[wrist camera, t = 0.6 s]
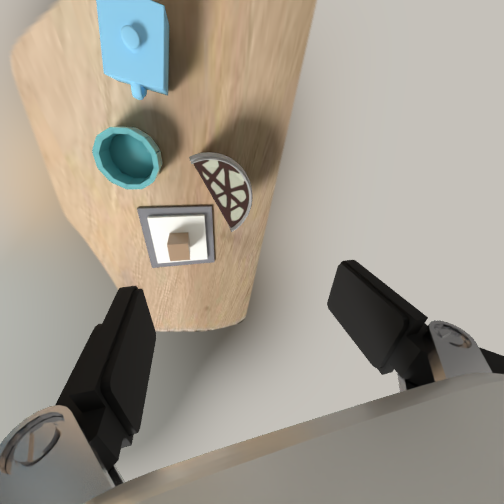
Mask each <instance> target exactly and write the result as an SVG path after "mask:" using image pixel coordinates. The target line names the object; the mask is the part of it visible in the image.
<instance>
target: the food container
mask: <svg viewBox="0 0 504 504" xmlns="http://www.w3.org/2000/svg"><path fill="white" fill-rule="evenodd" d="M189 158H190V161H191V164H194V166H195V168H196V169H197V171H198V172H199V174H200V176H201V178H202V179H203V181H204V183H205V185H206V186H207V188H208V190H209V191H210V193H211V195H212V197H213V199H214V200H215V202H216V204H217V205H218V207H219V209H220V211H221V212H222V214H223V216H224V218H225V219H226V221H227V223H228V225H229V227H230V230H231V232H232V231H234V230H236V229H237V228H238V227H239V226H240V225H241V224H242V223H243V222H244V221H245V219H246V217H247V216H248V214H249V212H250V209H251V205H252V188H251V183H250V180H249V178H248V176H247V174H246V172H245V171H244V169H243V168H242V167H241V166H240V165H239V164H238V163H237V162H236V161H234V160H233V159H231V158H230V157H227V156H225V155H223V154H219V153H213V152H205V153H199V154H195V155H193V156H190V157H189Z"/></svg>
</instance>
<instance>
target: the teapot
mask: <svg viewBox="0 0 504 504" xmlns="http://www.w3.org/2000/svg"><path fill="white" fill-rule="evenodd" d="M96 2H97V12H98V22H99V32H100V41H101V50H102V60H103V69H104V74H106V75H108V76H110V77H112V78H113V79H115V80H117V81H120V82H123V83H127V84H130V85H131V90H132V95H133V97H134V98H136V99H138V100H142V99H143V98H144V97H145V96H146V94H147V89H148V90H151V91H154V92H158V93H161V94H165V95H168V76H169V22H168V18H167V14H166V10H165V6H164V5H162V4H159V3H157V2H155V1H152V0H96Z"/></svg>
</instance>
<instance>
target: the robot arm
mask: <svg viewBox="0 0 504 504" xmlns="http://www.w3.org/2000/svg"><path fill="white" fill-rule="evenodd" d="M327 305H328V308H329V310H330V311H331V312H332V313H333V315H334V316H335V318H336V319H337V320H338V322H339V323H340V324H341V325H342V327H343V328H344V329H345V331H346V332H347V333H348V334H349V336H350V337H351V338H352V340H353V341H354V342H355V344H356V345H357V346H358V347H359V349H360V350H361V351H362V352H363V354H364V355H365V356H366V358H367V359H368V360H369V361H370V363H371V364H372V365H373V366H374V367H375V368H377V369H378V370H379V371H380V373H381V374H382V375H383V374H387V373H390V372H392V371H393V370H394V369H395V370H396V372H397V373H398V380H399V388H400V393H396V394H393V395H390V396H386V397H383V398H380V399H377V400H373V401H370V402H367V403H364V404H360V405H357V406H354V407H351V408H348V409H344V410H341V411H338V412H335V413H332V414H328V415H325V416H322V417H319V418H315V419H312V420H309V421H306V422H303V423H299V424H296V425H293V426H290V427H287V428H284V429H281V430H277V431H274V432H271V433H268V434H265V435H262V436H258V437H256V438H252V439H249V440H246V441H243V442H240V443H237V444H233V445H230V446H227V447H224V448H221V449H218V450H215V451H211V452H209V453H205V454H203V455H200V456H197V457H194V458H191V459H188V460H185V461H182V462H179V463H176V464H173V465H170V466H167V467H164V468H161V469H158V470H155V471H153V472H151V473H148V474H145V475H143V476H140V477H138V478H135V479H133V480H130V481H128V482H124V480H123V478H122V476H121V474H120V473H119V471H118V469H117V467H116V466H115V463H116V462H117V461H118V459H119V454H120V450H121V448H123V447H127V446H131V444H132V440H133V435H134V434H135V433H138V432H139V429H140V425H141V419H142V414H143V408H144V403H145V397H146V392H147V386H148V380H149V375H150V368H151V364H152V358H153V353H154V347H155V341H156V332H155V329H154V325H153V322H152V319H151V315H150V312H149V309H148V306H147V302H146V299H145V296H144V292H143V290H142V289H138V288H137V286H130V287H122V288H119V290H118V292H117V294H116V296H115V298H114V300H113V302H112V304H111V307H110V309H109V311H108V313H107V315H106V317H105V319H104V321H103V323H102V324H98V325H97V326H96V327H95V328H94V330H93V332H92V333H91V335H90V338H89V339H88V341H87V343H86V345H85V347H84V349H83V351H82V353H81V355H80V357H79V359H78V361H77V363H76V365H75V368H74V369H73V371H72V373H71V375H70V377H69V379H68V381H67V383H66V385H65V387H64V389H63V391H62V393H61V395H60V397H59V399H58V401H57V403H56V405H55V406H50V407H47V408H45V409H42V410H40V411H38V412H36V413H34V414H33V415H31V416H29V417H28V418H26V419H25V420H24V421H22V422H21V423H20V424H19V425H18V426H16V427H15V428H14V429H13V430H12V431H11V432H10V433H9V434H8V435H7V437H5V438H4V440H3V441H2V442H1V444H0V504H504V356H502V355H499V354H496V353H493V352H491V351H487V350H485V349H482V348H479V347H478V345H477V343H476V342H475V341H474V339H473V338H472V337H471V336H470V335H469V334H467V333H466V332H465V331H463V330H462V329H461V328H459V327H457V326H454V325H453V324H450V323H447V322H444V321H432V322H431V323H430V324H429V325H428V326H427V325H426V324H425V321H426V320H427V318H428V317H426V316H425V315H424V314H423V313H421V312H420V311H419V310H418V309H416V308H415V307H414V306H413V305H411V304H410V303H409V302H407V301H406V300H405V299H403V298H402V297H401V296H400V295H399V294H397V293H396V292H395V291H393V290H392V289H391V288H390V287H388V286H387V285H386V284H385V283H383V282H382V281H381V280H379V279H378V278H377V277H376V276H374V275H373V274H372V273H371V272H369V271H368V270H367V269H365V268H364V267H363V266H362V265H360V264H359V263H358V262H356V261H355V260H347V261H342V262H341V264H340V265H339V266H338V268H337V272H336V275H335V278H334V282H333V285H332V288H331V292H330V295H329V299H328V302H327Z"/></svg>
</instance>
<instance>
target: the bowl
mask: <svg viewBox="0 0 504 504" xmlns="http://www.w3.org/2000/svg"><path fill="white" fill-rule="evenodd" d="M92 151H93V152H92V153H93V156H94V159H95V162H96V165H97V168H98V169H99V170H100V171H101V172H102V174H103V175H104V176H105V177H106V178H107V179H108V180H109V181H111V182H112V183H114V184H116V185H118V186H120V187H123V188H125V189H143V188H145V187H146V186H148V185H150V184H151V183H153V182H154V181H155V179H156V178H157V176H158V174H159V172H160V169H161V167H162V164H163V163H162V157H161V151H160V149H159V147H158V146H157V144H156V143H155V142H154V140H153V139H152V137H150V135H148V134H146V133H145V132H143V131H141V130H139V129H138V128H135V127H123V126H118V127H109V128H108V129H106V130H105V131H103V132H101V133H100V134H98V135H97V136H96V139H95V142H94V146H93V150H92Z"/></svg>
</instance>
